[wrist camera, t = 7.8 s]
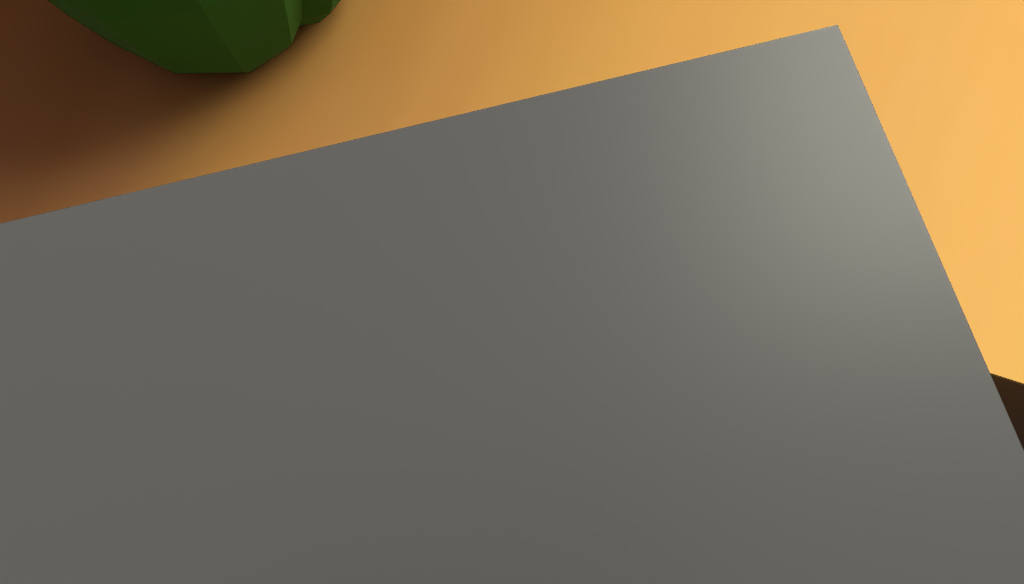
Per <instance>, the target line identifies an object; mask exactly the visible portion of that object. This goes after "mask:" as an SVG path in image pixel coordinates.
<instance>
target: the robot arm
mask: <svg viewBox="0 0 1024 584" xmlns="http://www.w3.org/2000/svg"><path fill="white" fill-rule="evenodd" d="M990 375H991V377H992V379H993V382H994V384H995V386H996V388H997V391H998V393H999V395H1000V398H1001V400H1002V402H1003V404H1004V407H1005V409H1006V411H1007V414H1008V416H1009V418H1010V420H1011V423H1012V425H1013V427H1014V430H1015V432H1016V434H1017V436H1018V439H1019V441H1020V443H1021V446H1022V448H1023V450H1024V384H1023V383H1020V382H1017V381H1013V380H1010V379H1007V378H1004V377H1001V376H998V375H995V374H992V373H990Z"/></svg>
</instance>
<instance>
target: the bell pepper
mask: <svg viewBox="0 0 1024 584" xmlns="http://www.w3.org/2000/svg"><path fill="white" fill-rule="evenodd" d="M48 1H49V2H51V3H52V4H53V5H55V6H56V7H57V8H59V9H60V10H62V11H63V12H64V13H66V14H67V15H68V16H70V17H71V18H73V19H75V20H76V21H78V22H79V23H81V24H83V25H84V26H86V27H87V28H89V29H91V30H92V31H94V32H95V33H97V34H99V35H100V36H102V37H103V38H105V39H106V40H108V41H110V42H111V43H113V44H114V45H116V46H119V47H121V48H123V49H125V50H127V51H129V52H131V53H133V54H135V55H137V56H140V57H142V58H144V59H146V60H148V61H150V62H152V63H154V64H156V65H158V66H160V67H163V68H165V69H167V70H169V71H171V72H173V73H250V72H252V71H253V70H255V69H256V68H258V67H259V66H261V65H263V64H264V63H266V62H267V61H269V60H270V59H272V58H273V57H275V56H277V55H278V54H280V53H281V52H283V51H284V50H286V49H287V48H288V47H289V46H290V45H291V44H292V42H293V40H294V37H295V35H296V33H297V30H298V28H299V26H302V25H307V24H312V23H318V22H320V21H321V20H323V19H324V18H325V17H326V16H327V15H328V14H330V13H331V11H332V10H333V9H334V8H335V6H336V5H337V4H338V3H339V1H340V0H48Z"/></svg>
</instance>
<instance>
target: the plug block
mask: <svg viewBox="0 0 1024 584" xmlns="http://www.w3.org/2000/svg"><path fill="white" fill-rule="evenodd" d="M0 584H1024V450H1023V448H1022V446H1021V443H1020V441H1019V439H1018V436H1017V434H1016V432H1015V430H1014V427H1013V425H1012V423H1011V420H1010V418H1009V416H1008V414H1007V411H1006V409H1005V407H1004V404H1003V402H1002V400H1001V398H1000V395H999V393H998V391H997V388H996V386H995V384H994V382H993V379H992V377H991V375H990V372H989V370H988V368H987V365H986V363H985V361H984V359H983V356H982V354H981V352H980V349H979V347H978V345H977V343H976V340H975V338H974V336H973V333H972V331H971V329H970V327H969V324H968V322H967V320H966V317H965V315H964V313H963V311H962V308H961V306H960V304H959V301H958V299H957V297H956V295H955V292H954V290H953V288H952V285H951V283H950V281H949V278H948V276H947V274H946V272H945V269H944V267H943V265H942V262H941V260H940V258H939V256H938V253H937V251H936V249H935V246H934V244H933V242H932V240H931V237H930V235H929V233H928V230H927V228H926V226H925V224H924V221H923V219H922V217H921V214H920V212H919V210H918V208H917V205H916V203H915V201H914V198H913V196H912V194H911V191H910V189H909V187H908V185H907V182H906V180H905V178H904V175H903V173H902V171H901V169H900V166H899V164H898V162H897V159H896V157H895V155H894V153H893V150H892V148H891V146H890V143H889V141H888V139H887V137H886V134H885V132H884V130H883V127H882V125H881V123H880V121H879V118H878V116H877V114H876V111H875V109H874V107H873V104H872V102H871V100H870V98H869V95H868V93H867V91H866V88H865V86H864V84H863V82H862V79H861V77H860V75H859V72H858V70H857V68H856V66H855V63H854V61H853V59H852V56H851V54H850V52H849V50H848V47H847V45H846V43H845V40H844V38H843V36H842V34H841V31H840V29H839V27H838V25H835V26H831V27H827V28H822V29H818V30H814V31H810V32H806V33H801V34H797V35H793V36H789V37H785V38H780V39H776V40H772V41H768V42H764V43H759V44H755V45H751V46H747V47H742V48H738V49H734V50H730V51H726V52H721V53H717V54H713V55H709V56H705V57H700V58H696V59H692V60H688V61H683V62H679V63H675V64H671V65H667V66H662V67H658V68H654V69H650V70H646V71H641V72H637V73H633V74H629V75H625V76H620V77H616V78H612V79H608V80H603V81H599V82H595V83H591V84H587V85H582V86H578V87H574V88H570V89H566V90H561V91H557V92H553V93H549V94H545V95H540V96H536V97H532V98H528V99H523V100H519V101H515V102H511V103H507V104H502V105H498V106H494V107H490V108H486V109H481V110H477V111H473V112H469V113H465V114H460V115H456V116H452V117H448V118H443V119H439V120H435V121H431V122H427V123H422V124H418V125H414V126H410V127H406V128H401V129H397V130H393V131H389V132H385V133H380V134H376V135H372V136H368V137H363V138H359V139H355V140H351V141H347V142H342V143H338V144H334V145H330V146H326V147H321V148H317V149H313V150H309V151H305V152H300V153H296V154H292V155H288V156H283V157H279V158H275V159H271V160H267V161H262V162H258V163H254V164H250V165H246V166H241V167H237V168H233V169H229V170H225V171H220V172H216V173H212V174H208V175H203V176H199V177H195V178H191V179H187V180H182V181H178V182H174V183H170V184H166V185H161V186H157V187H153V188H149V189H145V190H140V191H136V192H132V193H128V194H123V195H119V196H115V197H111V198H107V199H102V200H98V201H94V202H90V203H86V204H81V205H77V206H73V207H69V208H65V209H60V210H56V211H52V212H48V213H43V214H39V215H35V216H31V217H27V218H22V219H18V220H14V221H10V222H6V223H1V224H0Z"/></svg>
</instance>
